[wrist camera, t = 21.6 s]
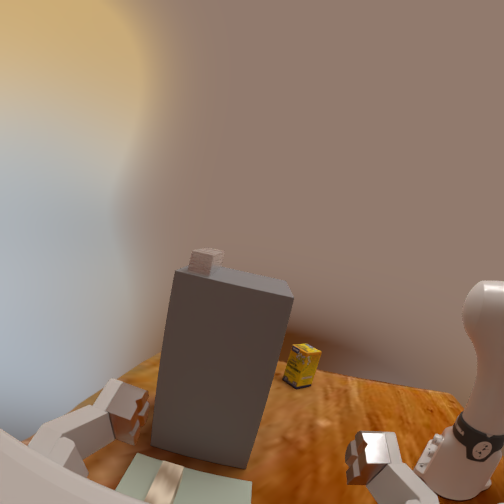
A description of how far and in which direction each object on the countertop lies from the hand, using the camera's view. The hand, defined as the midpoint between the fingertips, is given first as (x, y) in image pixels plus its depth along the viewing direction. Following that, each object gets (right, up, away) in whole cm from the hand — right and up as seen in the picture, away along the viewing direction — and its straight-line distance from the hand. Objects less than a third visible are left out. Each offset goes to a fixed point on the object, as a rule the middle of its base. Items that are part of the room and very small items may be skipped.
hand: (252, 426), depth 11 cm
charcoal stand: (-9, -27, +40) cm, 49 cm away
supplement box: (+12, -30, +71) cm, 78 cm away
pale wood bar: (-7, +4, +38) cm, 39 cm away
